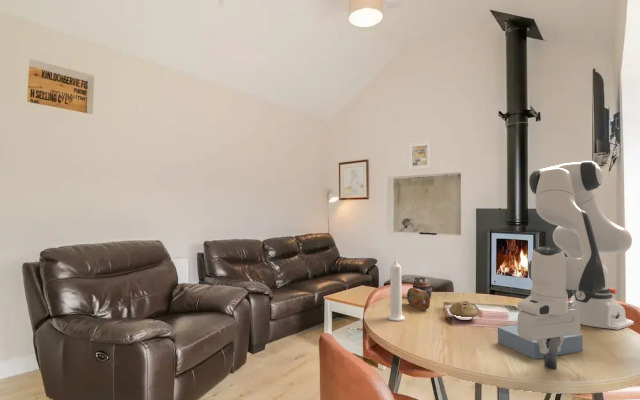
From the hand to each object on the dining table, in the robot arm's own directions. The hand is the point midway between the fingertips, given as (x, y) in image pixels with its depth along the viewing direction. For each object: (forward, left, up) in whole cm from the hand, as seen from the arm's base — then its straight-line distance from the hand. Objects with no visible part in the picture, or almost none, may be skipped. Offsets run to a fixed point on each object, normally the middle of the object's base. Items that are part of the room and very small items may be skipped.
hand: (550, 352), depth 99 cm
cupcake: (-11, -79, -4) cm, 79 cm away
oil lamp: (-7, -44, -4) cm, 45 cm away
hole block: (-10, -12, -4) cm, 16 cm away
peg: (0, 0, -4) cm, 4 cm away
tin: (+2, -63, -4) cm, 63 cm away
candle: (+20, -52, -4) cm, 56 cm away
